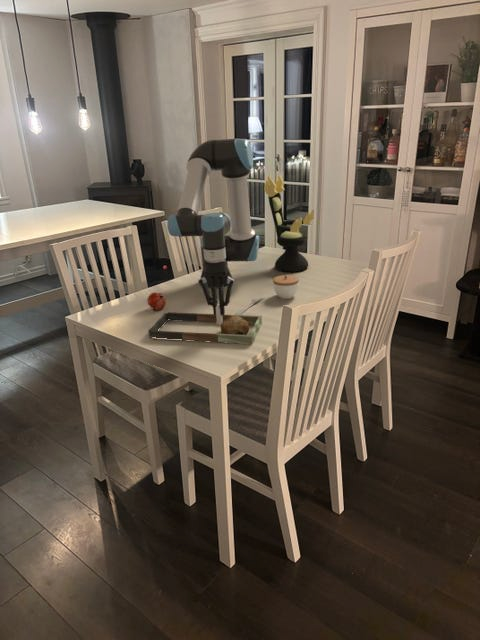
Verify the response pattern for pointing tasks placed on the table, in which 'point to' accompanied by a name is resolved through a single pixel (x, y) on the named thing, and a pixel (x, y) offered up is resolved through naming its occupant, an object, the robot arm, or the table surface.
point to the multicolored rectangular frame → (205, 336)
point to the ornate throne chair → (287, 230)
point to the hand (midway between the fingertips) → (219, 322)
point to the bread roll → (235, 326)
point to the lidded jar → (285, 286)
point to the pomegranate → (156, 301)
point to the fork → (248, 306)
